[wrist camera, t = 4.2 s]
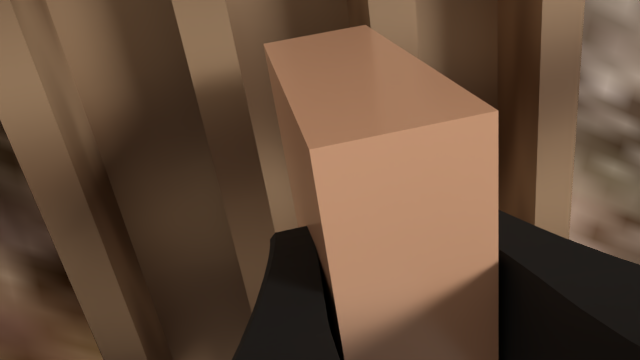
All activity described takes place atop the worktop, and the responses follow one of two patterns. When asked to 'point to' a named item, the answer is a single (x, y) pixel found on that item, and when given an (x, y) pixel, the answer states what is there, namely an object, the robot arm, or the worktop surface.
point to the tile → (392, 195)
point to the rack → (238, 140)
